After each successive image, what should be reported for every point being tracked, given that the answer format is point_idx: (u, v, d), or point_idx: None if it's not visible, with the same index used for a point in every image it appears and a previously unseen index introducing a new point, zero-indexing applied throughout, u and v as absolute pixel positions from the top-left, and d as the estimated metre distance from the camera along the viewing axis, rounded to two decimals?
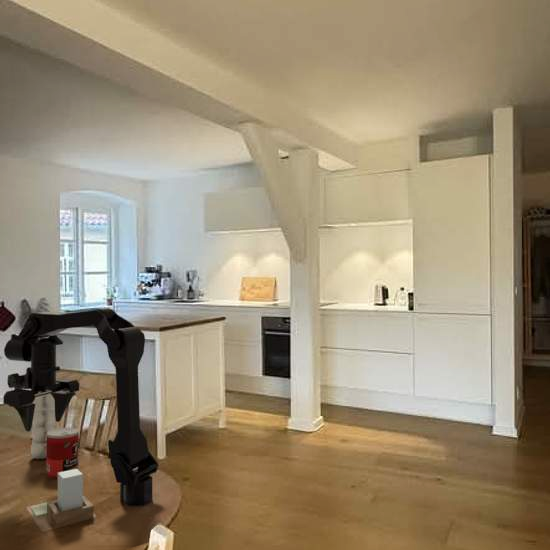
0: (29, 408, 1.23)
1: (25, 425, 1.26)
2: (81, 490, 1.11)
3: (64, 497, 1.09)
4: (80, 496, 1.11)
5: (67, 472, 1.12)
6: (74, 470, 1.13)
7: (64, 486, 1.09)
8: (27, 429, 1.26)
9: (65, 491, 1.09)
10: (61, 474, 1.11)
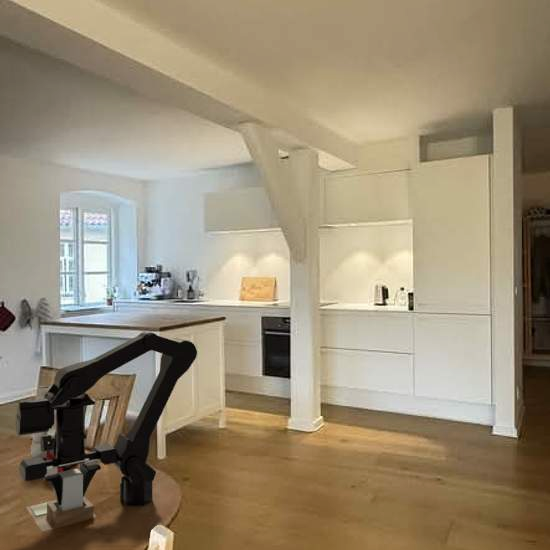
0: (52, 481, 1.07)
1: (56, 497, 1.10)
2: (81, 490, 1.11)
3: (64, 497, 1.09)
4: (80, 496, 1.11)
5: (67, 472, 1.12)
6: (74, 470, 1.13)
7: (64, 486, 1.09)
8: (58, 502, 1.10)
9: (65, 491, 1.09)
10: (61, 474, 1.11)
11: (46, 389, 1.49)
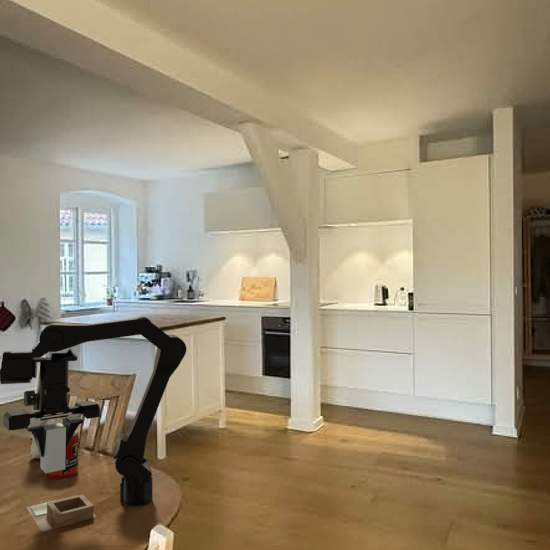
0: (35, 432, 1.09)
1: (39, 449, 1.12)
2: (64, 443, 1.13)
3: (47, 449, 1.11)
4: (63, 448, 1.13)
5: (50, 425, 1.14)
6: (57, 424, 1.16)
7: (47, 438, 1.11)
8: (40, 454, 1.12)
9: (48, 442, 1.11)
10: (44, 427, 1.13)
11: None
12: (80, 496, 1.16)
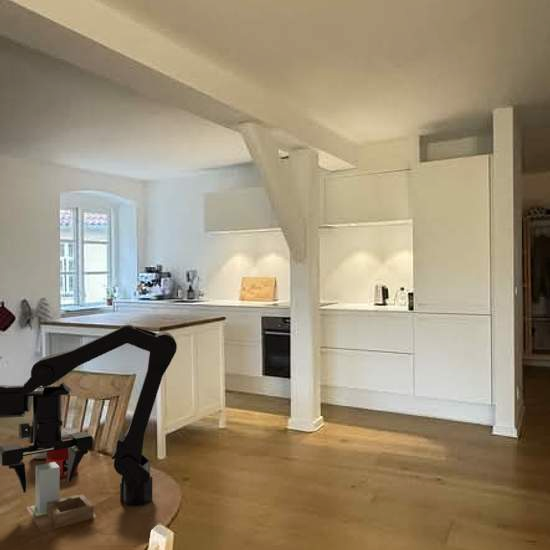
0: (16, 469, 1.09)
1: None
2: (58, 482, 1.15)
3: (41, 489, 1.13)
4: (57, 488, 1.15)
5: (45, 465, 1.16)
6: (52, 463, 1.17)
7: (41, 478, 1.13)
8: (22, 490, 1.12)
9: (42, 483, 1.13)
10: (38, 467, 1.15)
11: None
12: (80, 496, 1.16)
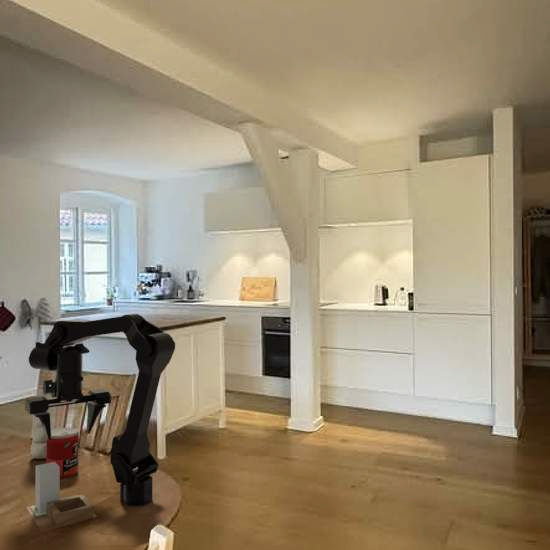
0: (42, 418, 1.21)
1: (46, 434, 1.24)
2: (58, 482, 1.15)
3: (41, 489, 1.13)
4: (57, 488, 1.15)
5: (45, 465, 1.16)
6: (52, 463, 1.17)
7: (41, 478, 1.13)
8: (47, 438, 1.24)
9: (42, 483, 1.13)
10: (38, 467, 1.15)
11: None
12: (80, 496, 1.16)
